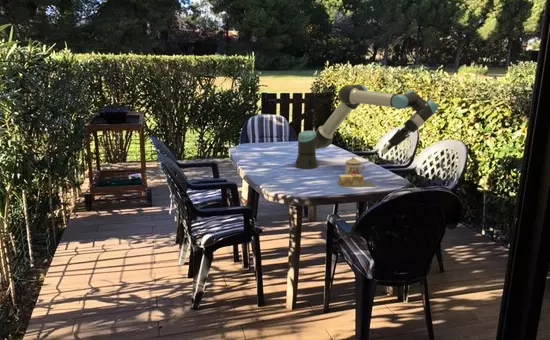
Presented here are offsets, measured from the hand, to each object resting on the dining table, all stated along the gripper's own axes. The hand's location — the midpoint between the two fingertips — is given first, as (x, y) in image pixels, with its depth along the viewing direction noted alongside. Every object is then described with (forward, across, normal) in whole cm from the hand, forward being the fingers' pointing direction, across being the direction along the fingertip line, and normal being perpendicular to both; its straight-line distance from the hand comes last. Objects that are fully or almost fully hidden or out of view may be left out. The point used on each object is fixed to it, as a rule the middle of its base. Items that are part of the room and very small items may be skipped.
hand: (382, 152), depth 248 cm
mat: (+23, 0, -3) cm, 23 cm away
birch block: (+19, 0, -3) cm, 19 cm away
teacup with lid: (+20, +20, -7) cm, 29 cm away
